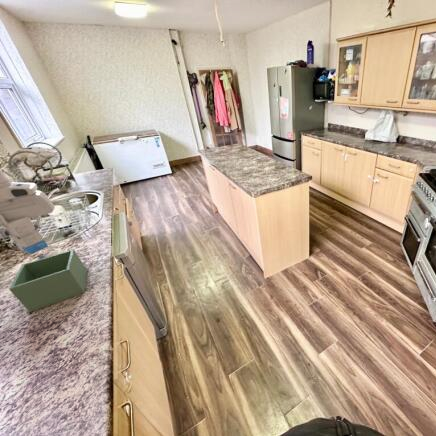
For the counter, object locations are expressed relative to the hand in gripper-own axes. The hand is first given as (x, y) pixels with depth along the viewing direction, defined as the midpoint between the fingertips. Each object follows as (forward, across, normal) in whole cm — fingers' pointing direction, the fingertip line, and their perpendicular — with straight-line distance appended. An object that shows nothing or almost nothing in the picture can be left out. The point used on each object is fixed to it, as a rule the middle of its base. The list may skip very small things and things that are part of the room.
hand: (23, 232), depth 76 cm
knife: (+24, -9, +21) cm, 34 cm away
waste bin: (+24, 0, -2) cm, 24 cm away
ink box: (+7, 0, 0) cm, 7 cm away
